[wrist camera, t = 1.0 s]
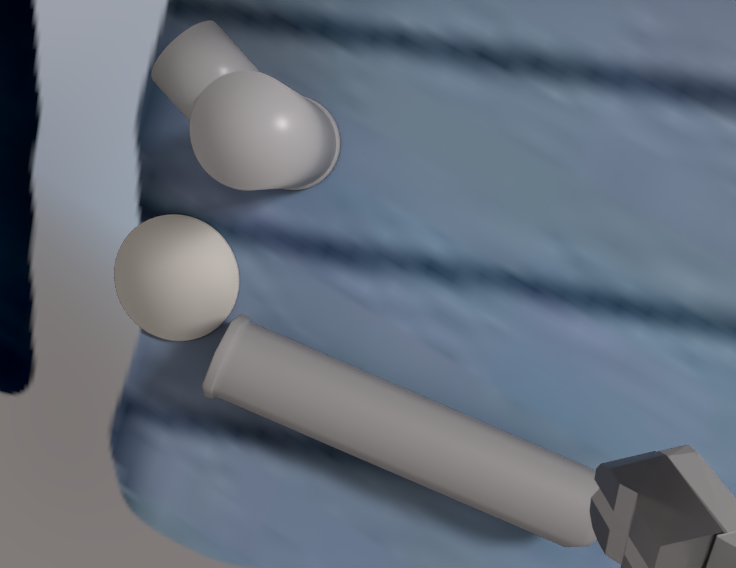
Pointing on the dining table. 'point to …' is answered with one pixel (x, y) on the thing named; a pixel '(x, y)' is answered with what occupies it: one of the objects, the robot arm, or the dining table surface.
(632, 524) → the robot arm
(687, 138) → the dining table surface
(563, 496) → the tube
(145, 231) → the flange
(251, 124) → the elbow
